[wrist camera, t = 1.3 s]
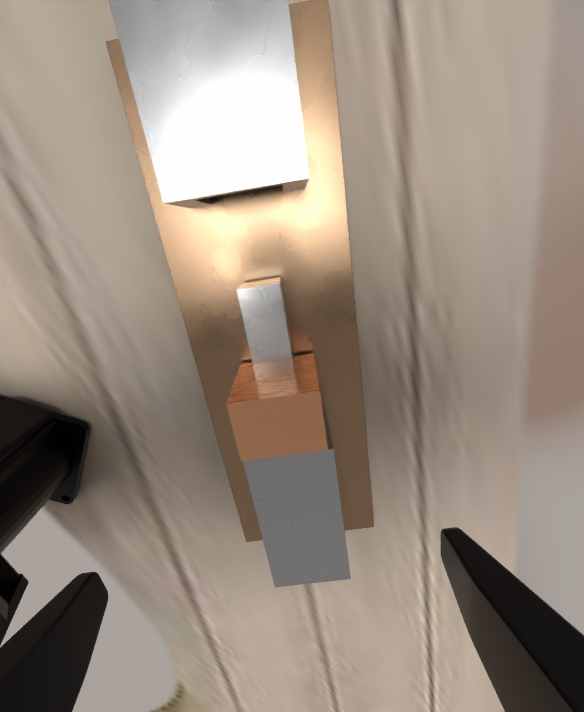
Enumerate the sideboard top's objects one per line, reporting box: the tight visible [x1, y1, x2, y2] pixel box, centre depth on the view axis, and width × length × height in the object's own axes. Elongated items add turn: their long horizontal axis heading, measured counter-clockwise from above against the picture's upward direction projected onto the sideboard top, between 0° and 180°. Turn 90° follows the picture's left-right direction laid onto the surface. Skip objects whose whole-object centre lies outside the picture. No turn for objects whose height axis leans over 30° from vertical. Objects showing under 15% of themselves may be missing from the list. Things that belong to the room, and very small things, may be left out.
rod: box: [226, 277, 328, 461], centre depth 17 cm, size 16×4×4 cm, turn 9°
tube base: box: [106, 0, 374, 587], centre depth 17 cm, size 28×9×4 cm, turn 9°
